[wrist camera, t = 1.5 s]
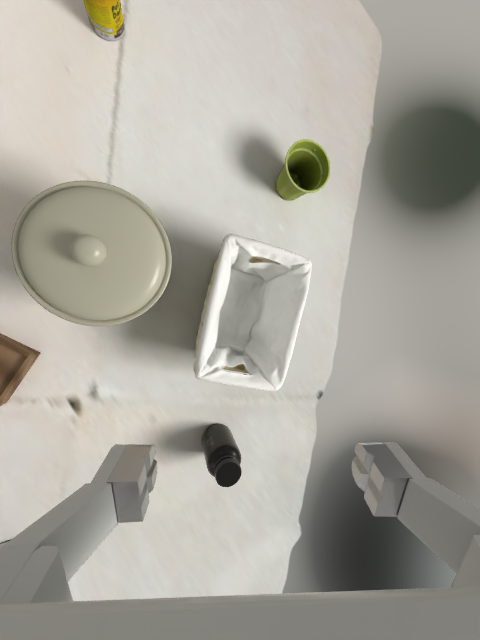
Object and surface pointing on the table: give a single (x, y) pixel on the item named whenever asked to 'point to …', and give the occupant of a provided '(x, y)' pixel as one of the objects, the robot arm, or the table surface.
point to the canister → (91, 253)
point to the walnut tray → (13, 365)
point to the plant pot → (303, 170)
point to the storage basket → (251, 314)
